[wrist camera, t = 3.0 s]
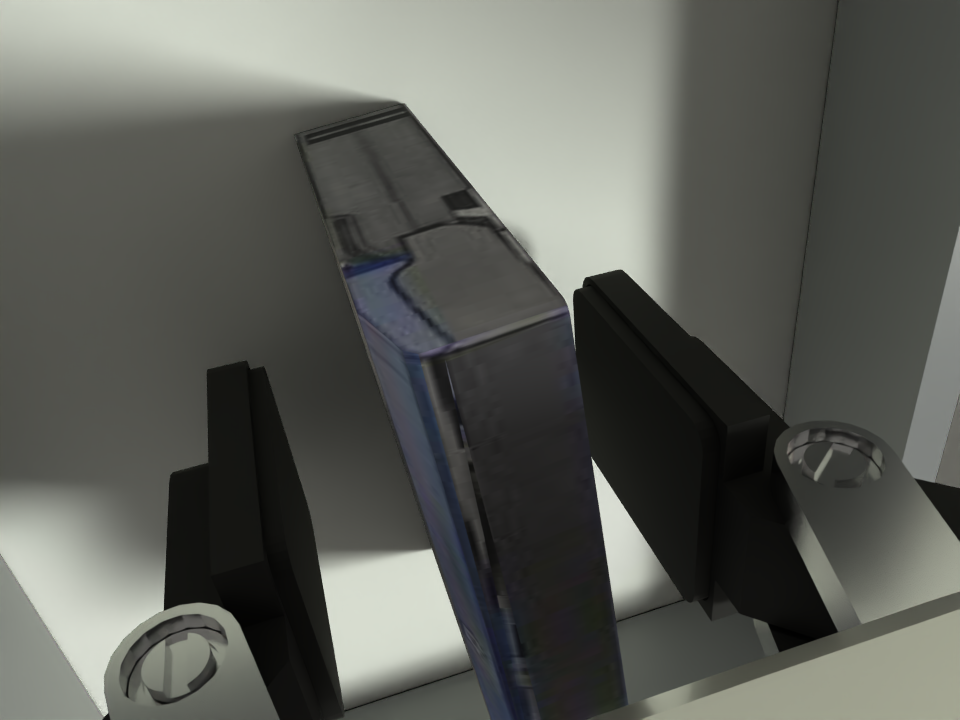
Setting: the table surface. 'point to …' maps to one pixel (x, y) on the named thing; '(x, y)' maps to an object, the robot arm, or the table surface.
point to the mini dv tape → (477, 412)
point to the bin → (816, 352)
